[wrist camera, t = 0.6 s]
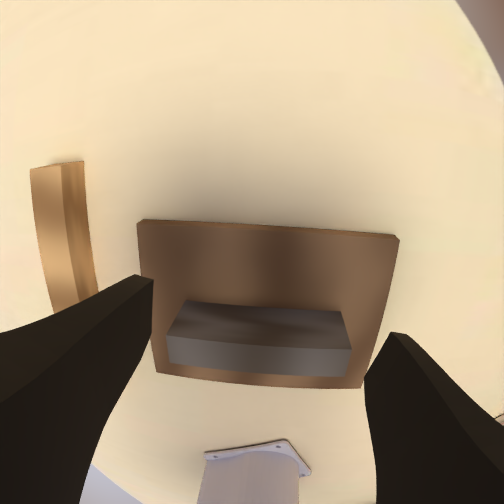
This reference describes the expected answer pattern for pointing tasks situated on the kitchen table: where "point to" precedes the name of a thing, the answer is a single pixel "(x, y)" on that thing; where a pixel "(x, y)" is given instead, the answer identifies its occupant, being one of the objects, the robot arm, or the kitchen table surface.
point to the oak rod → (63, 232)
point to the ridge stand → (265, 301)
